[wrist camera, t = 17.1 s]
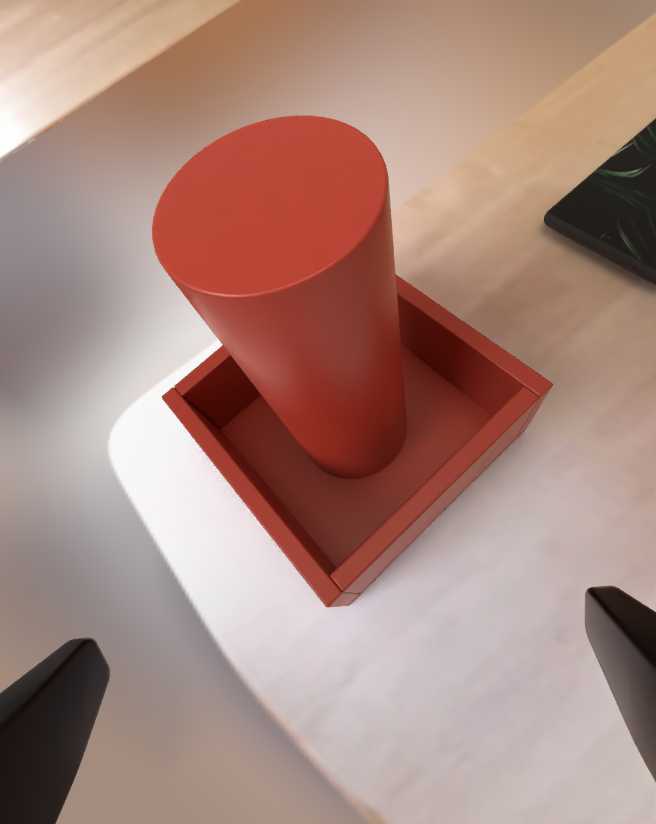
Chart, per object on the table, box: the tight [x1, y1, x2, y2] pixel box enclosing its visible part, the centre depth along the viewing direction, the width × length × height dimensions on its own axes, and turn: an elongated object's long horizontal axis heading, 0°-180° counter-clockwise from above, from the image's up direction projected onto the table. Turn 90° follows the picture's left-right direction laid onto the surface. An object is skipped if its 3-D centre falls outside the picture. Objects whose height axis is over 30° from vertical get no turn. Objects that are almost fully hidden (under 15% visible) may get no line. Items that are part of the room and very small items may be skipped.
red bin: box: [162, 275, 553, 607], centre depth 19 cm, size 11×11×5 cm
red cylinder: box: [152, 116, 407, 479], centre depth 14 cm, size 5×5×13 cm
